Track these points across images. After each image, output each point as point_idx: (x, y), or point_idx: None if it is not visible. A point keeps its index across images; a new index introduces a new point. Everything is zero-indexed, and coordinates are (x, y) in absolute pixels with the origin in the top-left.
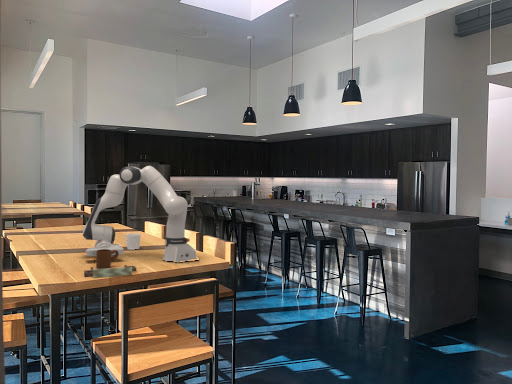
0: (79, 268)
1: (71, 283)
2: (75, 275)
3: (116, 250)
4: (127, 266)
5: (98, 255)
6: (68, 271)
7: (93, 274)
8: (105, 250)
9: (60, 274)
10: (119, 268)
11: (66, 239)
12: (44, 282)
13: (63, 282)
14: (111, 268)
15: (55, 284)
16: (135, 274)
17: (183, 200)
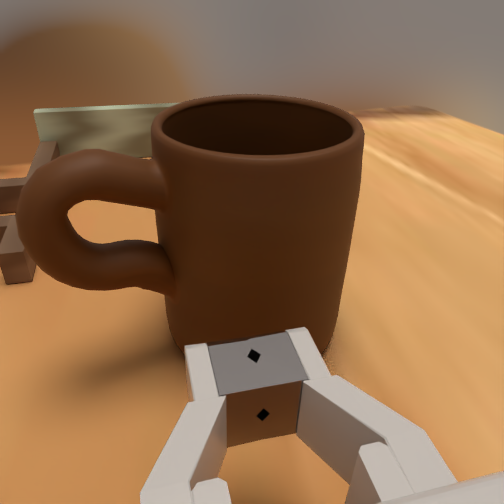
0: (485, 297)
1: None
2: (383, 171)
3: (49, 162)
4: (13, 216)
5: (308, 151)
6: (499, 229)
7: None
8: (246, 176)
9: (490, 186)
10: (119, 106)
11: None
12: (454, 123)
13: (374, 120)
14: (168, 105)
15: (390, 111)
16: (15, 169)
17: None
